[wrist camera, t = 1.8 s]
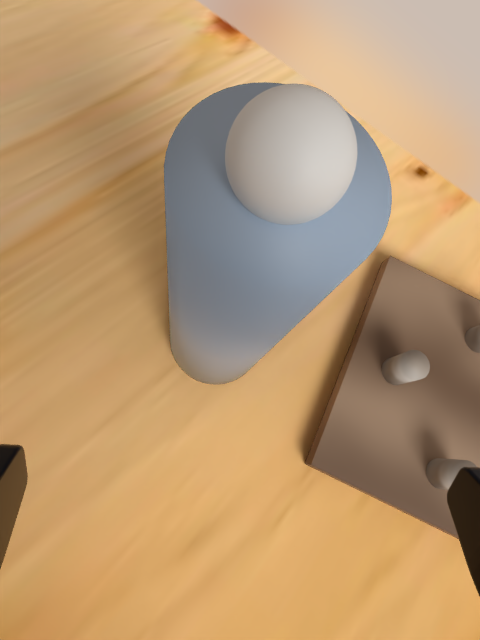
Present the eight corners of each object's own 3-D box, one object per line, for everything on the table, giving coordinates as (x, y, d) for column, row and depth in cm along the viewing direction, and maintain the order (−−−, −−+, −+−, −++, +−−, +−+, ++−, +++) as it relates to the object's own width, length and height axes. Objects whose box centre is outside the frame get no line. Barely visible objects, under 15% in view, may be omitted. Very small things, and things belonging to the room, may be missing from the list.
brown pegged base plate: (523, 570, 21) (579, 591, 18) (304, 463, 21) (325, 467, 18) (567, 355, 25) (619, 343, 22) (382, 263, 24) (409, 239, 22)
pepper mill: (277, 349, 22) (499, 153, 7) (205, 403, 21) (288, 302, 6) (224, 280, 23) (325, -36, 8) (152, 328, 21) (100, 60, 6)
